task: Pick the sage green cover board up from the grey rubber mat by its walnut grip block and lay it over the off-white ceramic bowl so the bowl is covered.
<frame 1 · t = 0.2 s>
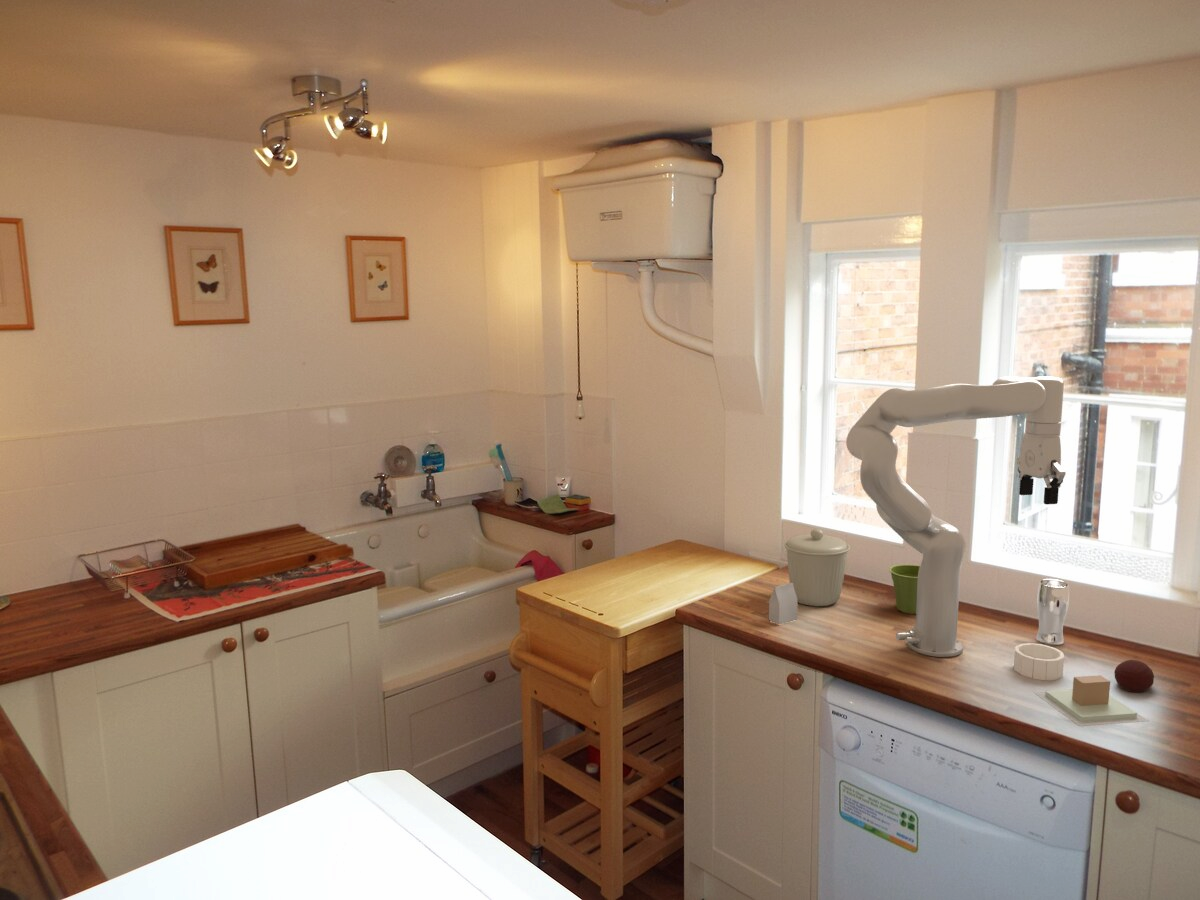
hand: (1037, 499, 211), 36 cm above the worktop, tool pointing down, fingers open, 9 cm apart
plant pot: (910, 610, 242), on the worktop
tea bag: (782, 621, 235), on the worktop
beer glass: (1049, 641, 219), on the worktop
cover board: (1089, 706, 183), resting on mat
canister: (815, 601, 250), on the worktop
potato: (1133, 689, 192), on the worktop
mat: (1089, 708, 183), on the worktop
bowl: (1037, 672, 201), on the worktop
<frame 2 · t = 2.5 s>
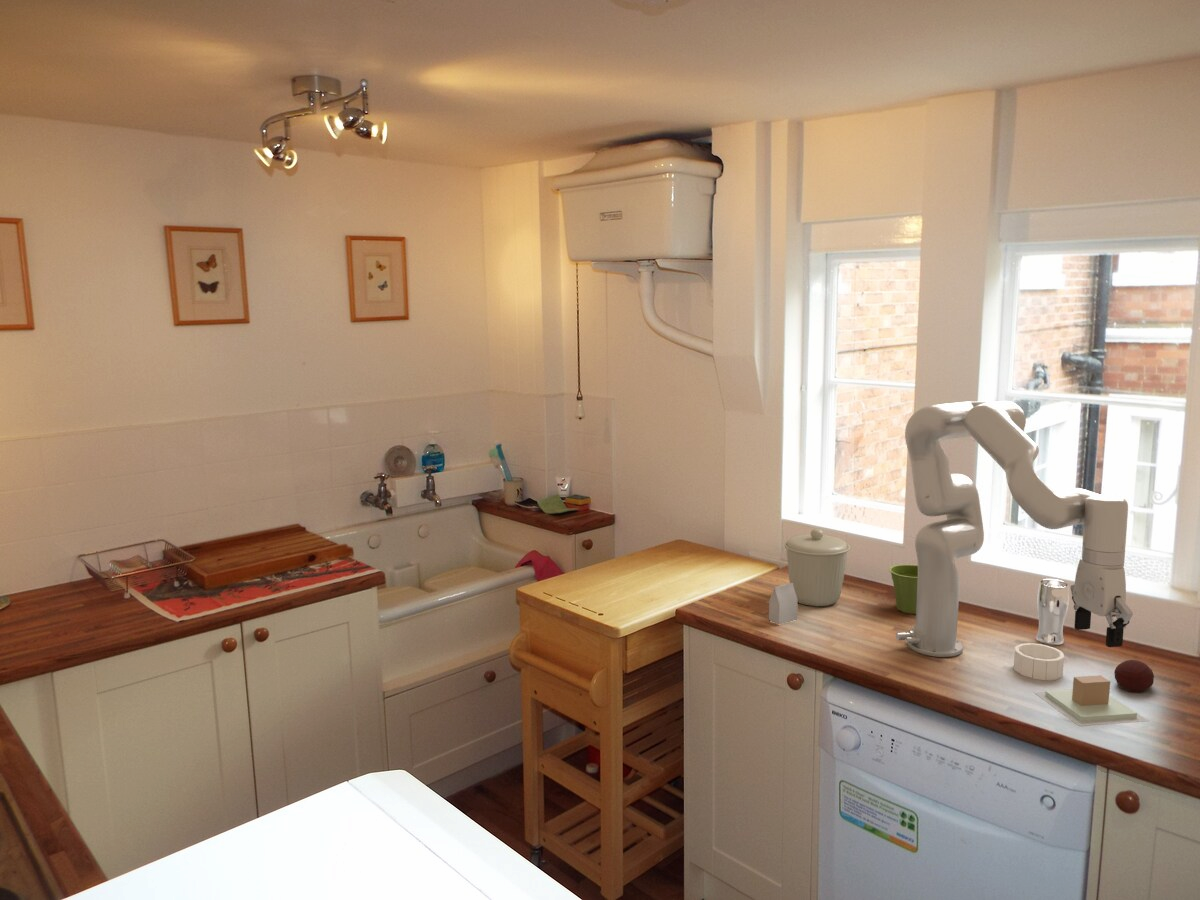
hand: (1097, 637, 180), 16 cm above the worktop, tool pointing down, fingers open, 9 cm apart
nothing on the worktop moved.
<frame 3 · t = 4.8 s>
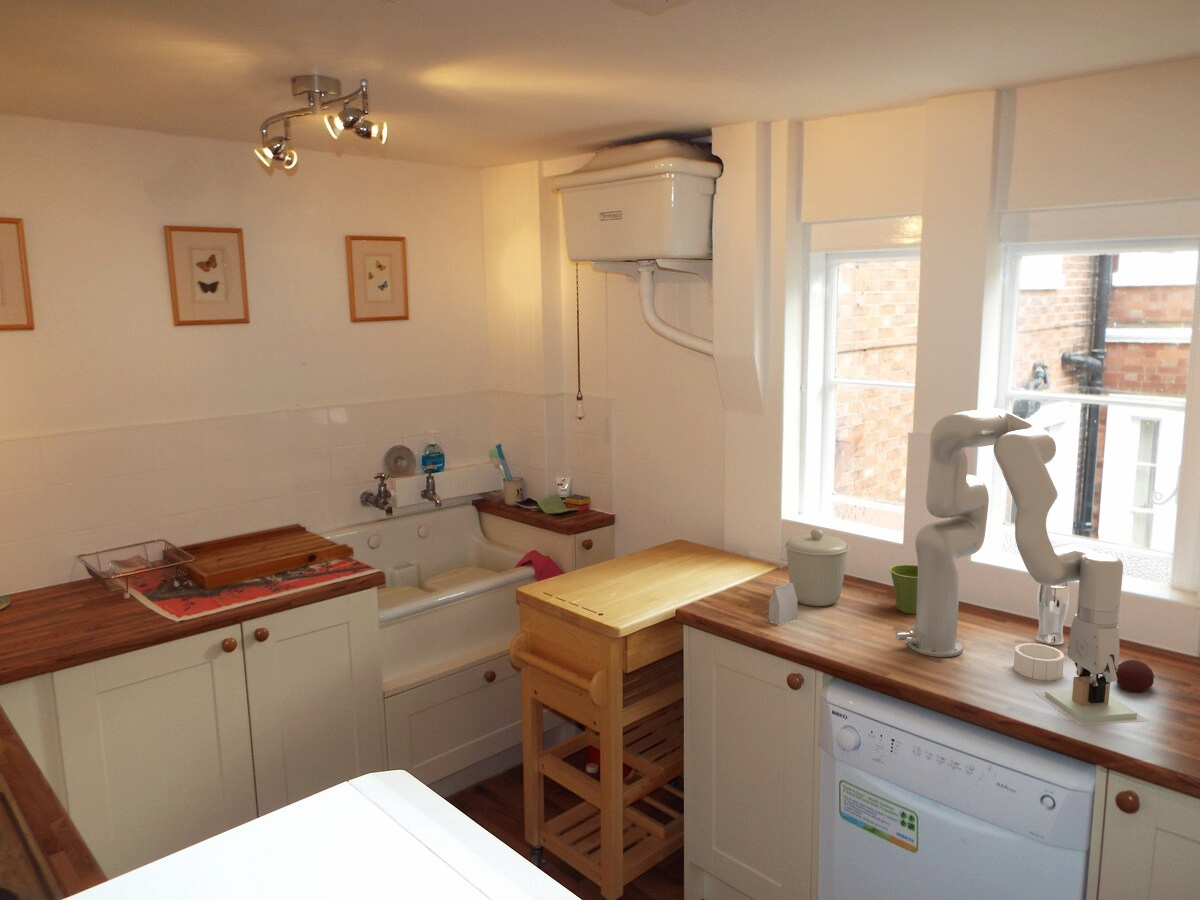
hand: (1090, 697, 183), 2 cm above the worktop, tool pointing down, fingers closed on cover board, 3 cm apart
cover board: (1089, 706, 183), resting on mat, touching gripper
everything else where it was.
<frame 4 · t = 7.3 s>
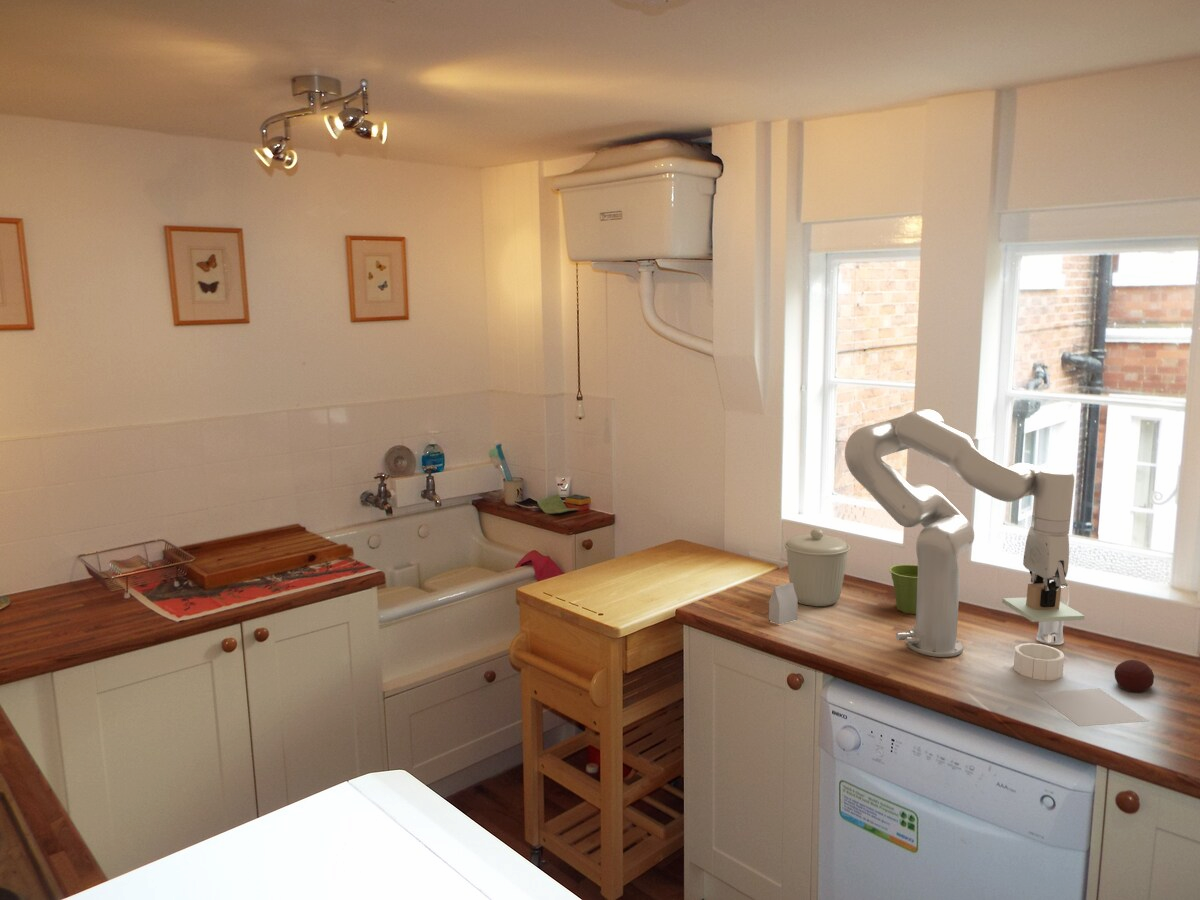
hand: (1042, 603, 197), 17 cm above the worktop, tool pointing down, fingers closed on cover board, 3 cm apart
cover board: (1042, 610, 198), point 15 cm above the worktop, touching gripper
everything else where it was.
when the fingers open (8 cm above the worktop, at t = 9.7 s): cover board drops 2 cm, resting on bowl.
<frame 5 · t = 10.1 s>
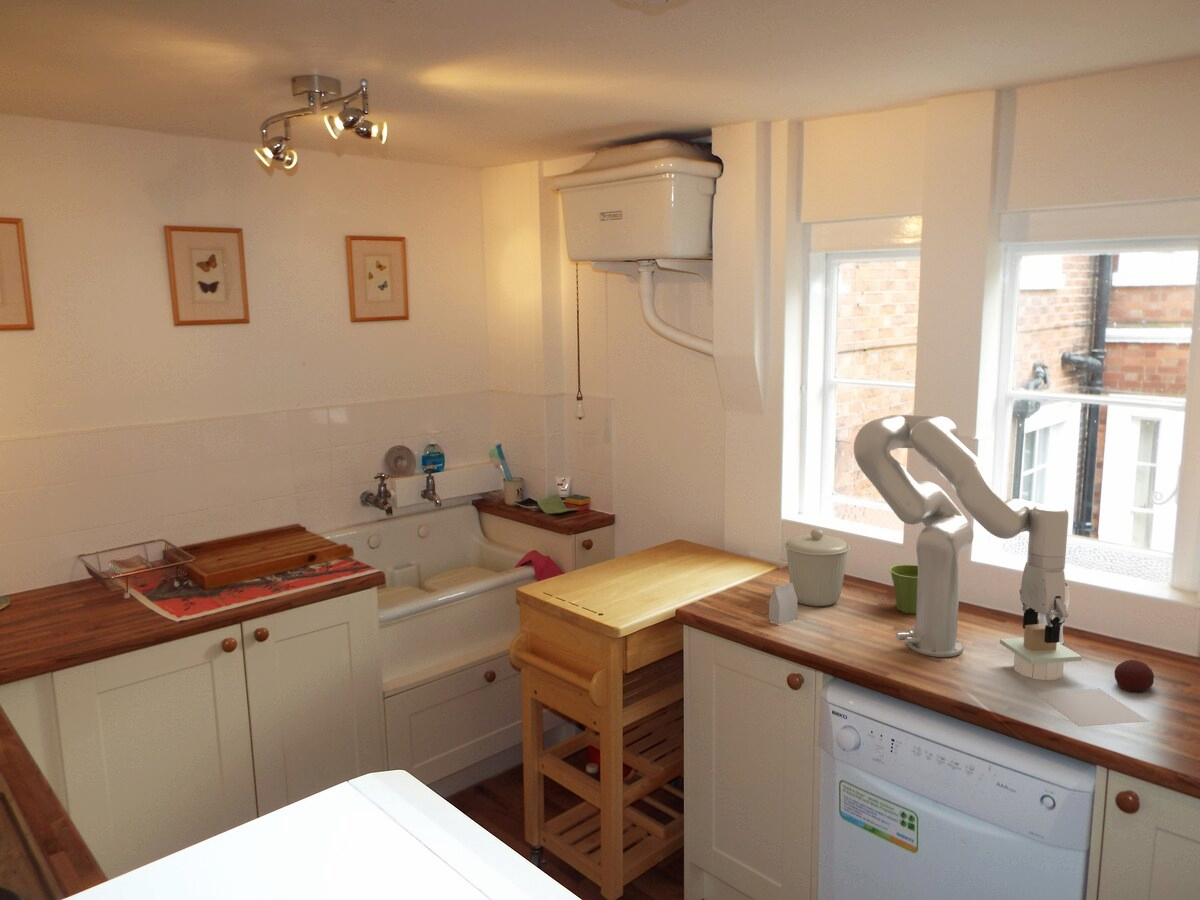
hand: (1040, 634, 199), 9 cm above the worktop, tool pointing down, fingers open, 7 cm apart
cover board: (1039, 651, 200), point 5 cm above the worktop, touching bowl
everything else where it was.
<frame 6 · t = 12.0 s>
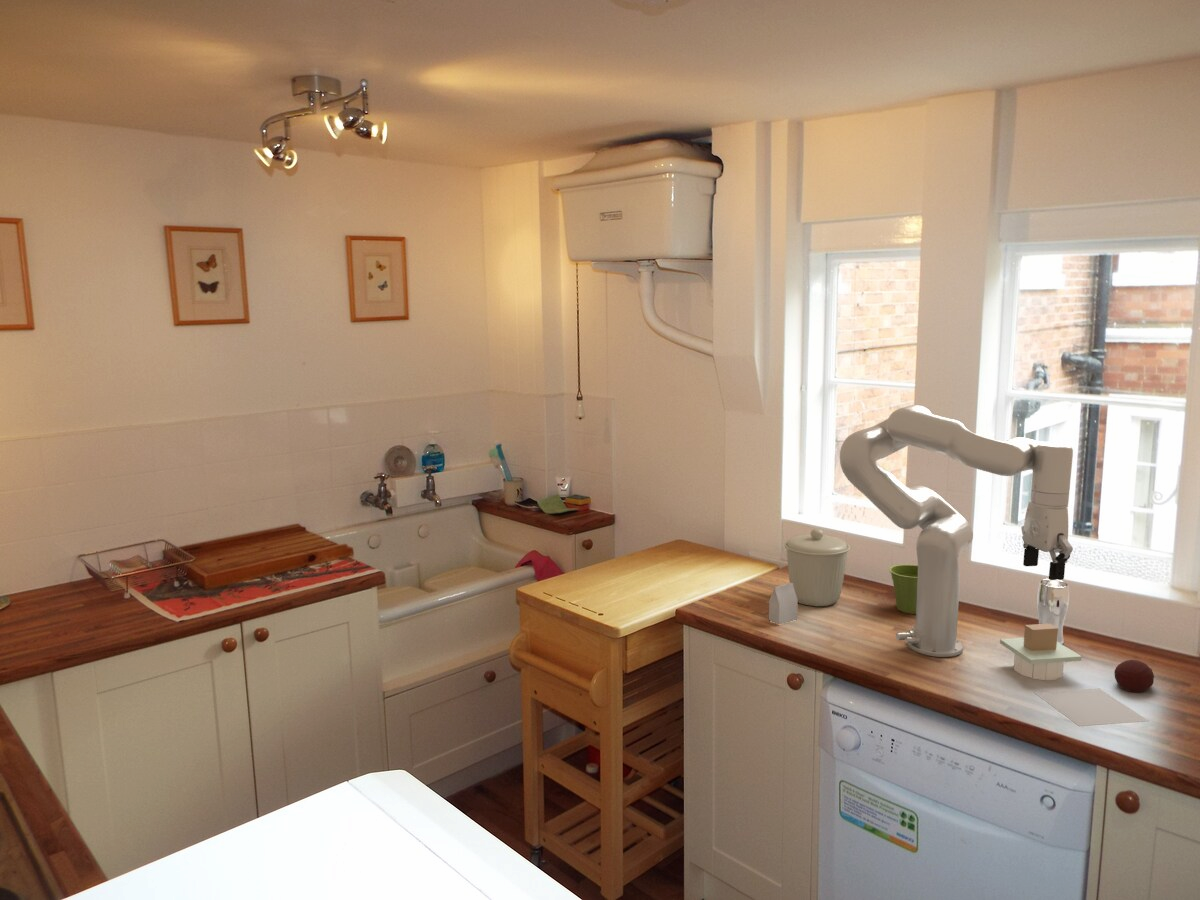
hand: (1042, 572, 197), 24 cm above the worktop, tool pointing down, fingers open, 9 cm apart
nothing on the worktop moved.
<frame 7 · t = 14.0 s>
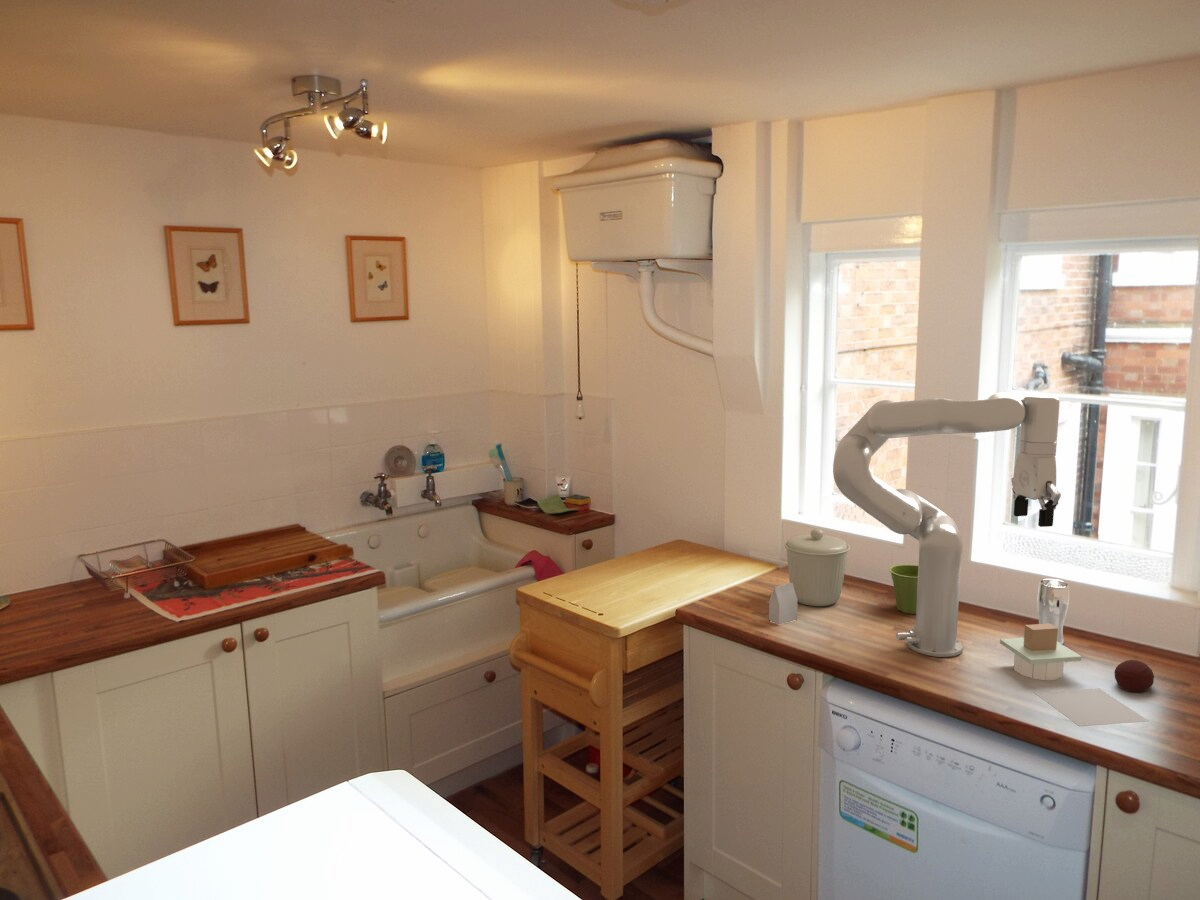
hand: (1032, 520, 204), 33 cm above the worktop, tool pointing down, fingers open, 9 cm apart
nothing on the worktop moved.
at the end: cover board 0.1 cm off-centre on the bowl, point 5.0 cm above the bowl's base; cover board tilted 0°; the gripper is holding nothing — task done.
